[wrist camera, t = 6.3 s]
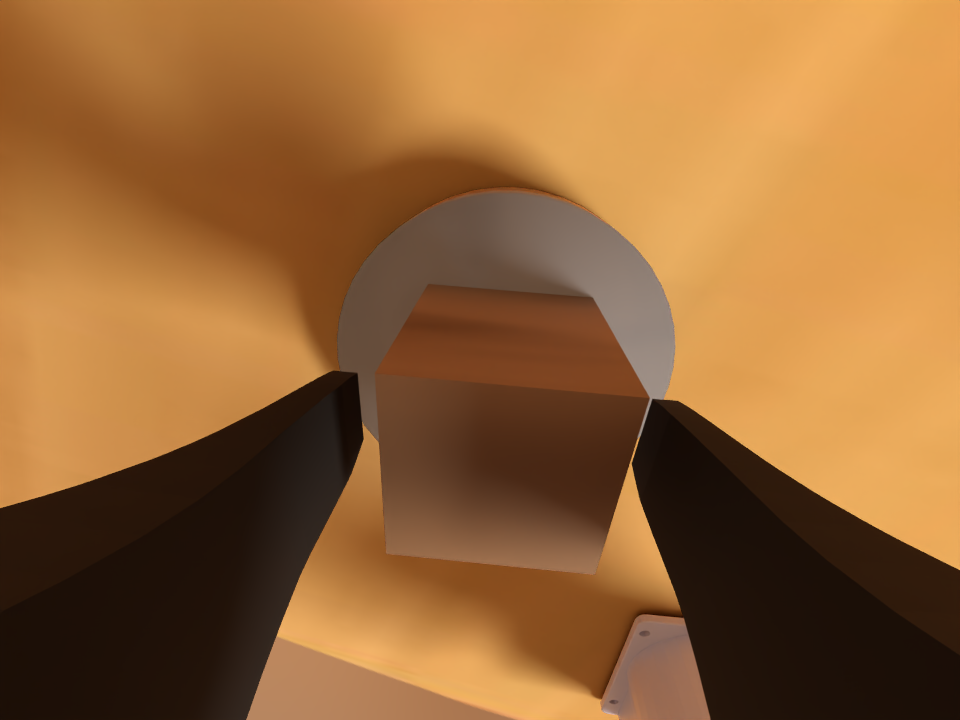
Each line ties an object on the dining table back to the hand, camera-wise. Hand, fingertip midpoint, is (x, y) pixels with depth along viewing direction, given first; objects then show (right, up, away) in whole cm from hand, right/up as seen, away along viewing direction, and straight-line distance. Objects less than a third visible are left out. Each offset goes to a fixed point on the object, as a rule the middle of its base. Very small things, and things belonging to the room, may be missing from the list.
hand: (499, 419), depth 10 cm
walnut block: (0, +1, +2) cm, 2 cm away
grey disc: (0, +2, +4) cm, 4 cm away
